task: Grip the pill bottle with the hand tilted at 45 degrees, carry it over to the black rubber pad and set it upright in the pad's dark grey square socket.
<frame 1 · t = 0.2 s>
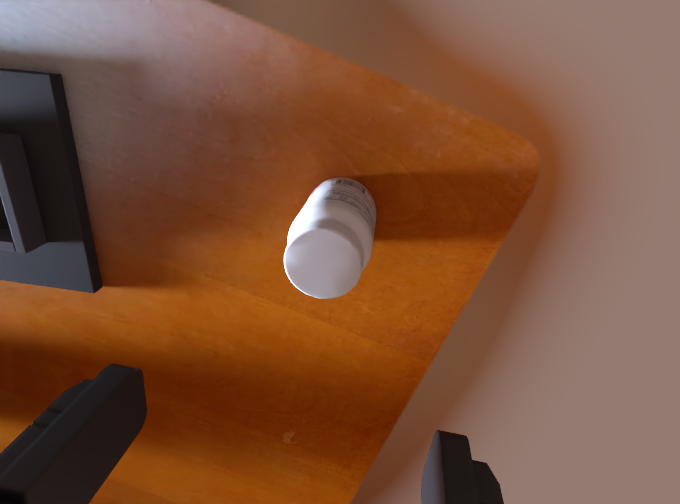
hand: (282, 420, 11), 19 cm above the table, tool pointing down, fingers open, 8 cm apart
pill bottle: (342, 209, 28), on the table
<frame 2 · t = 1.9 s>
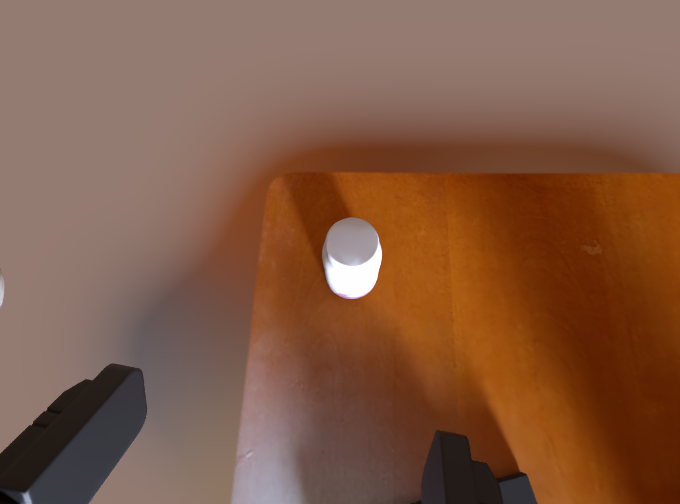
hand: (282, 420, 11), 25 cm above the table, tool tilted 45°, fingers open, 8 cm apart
pill bottle: (351, 275, 38), on the table
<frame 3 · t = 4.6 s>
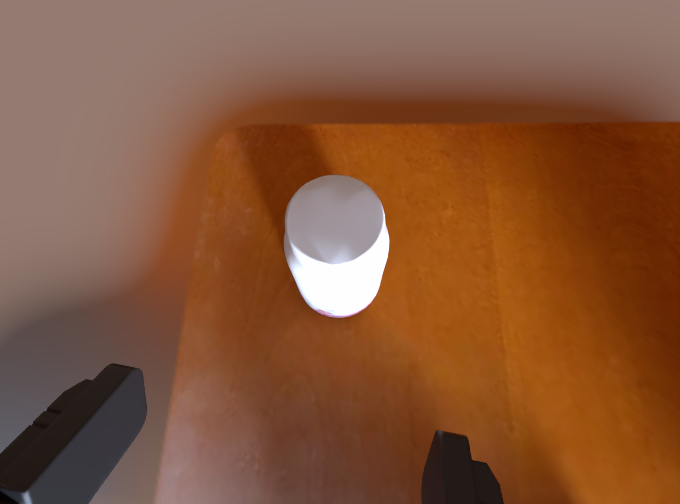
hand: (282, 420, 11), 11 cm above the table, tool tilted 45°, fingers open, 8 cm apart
pill bottle: (339, 279, 24), on the table
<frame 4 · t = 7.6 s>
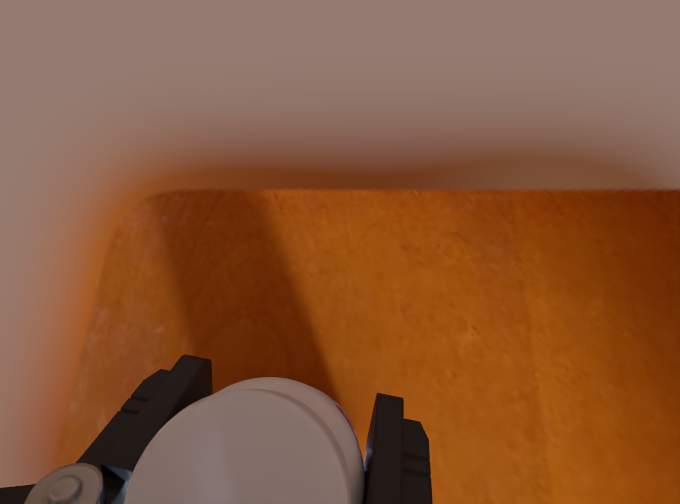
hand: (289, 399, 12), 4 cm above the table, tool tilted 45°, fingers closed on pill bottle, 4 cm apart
pill bottle: (294, 451, 15), on the table, touching gripper
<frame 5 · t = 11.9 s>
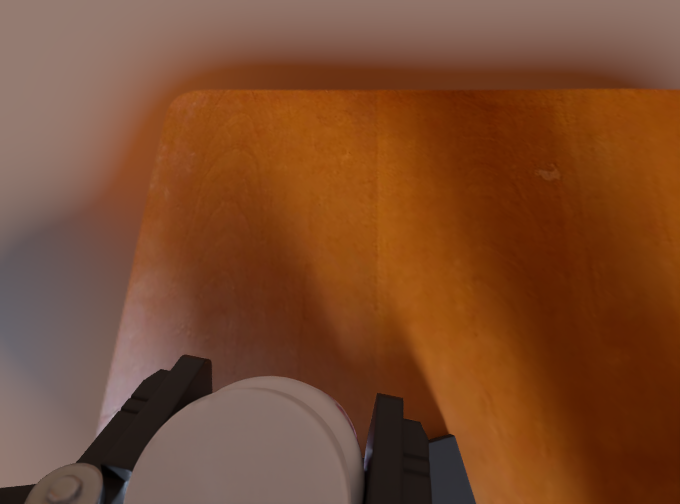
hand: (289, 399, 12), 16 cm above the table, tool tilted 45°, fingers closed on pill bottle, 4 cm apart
pill bottle: (294, 451, 15), point 12 cm above the table, touching gripper
when the fingers open (5 cm above the table, at t = 16.6 s): pill bottle stays where it is, resting on pad.
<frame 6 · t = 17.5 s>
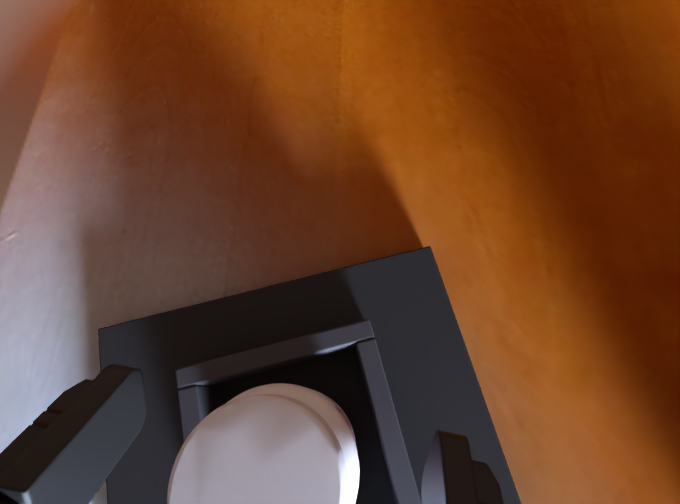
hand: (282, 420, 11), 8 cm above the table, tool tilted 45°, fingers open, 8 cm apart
pill bottle: (299, 447, 17), point 1 cm above the table, touching pad
pad: (302, 441, 18), on the table
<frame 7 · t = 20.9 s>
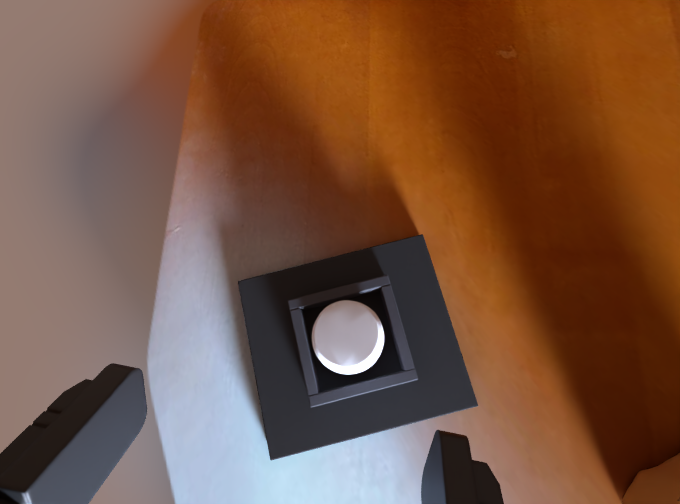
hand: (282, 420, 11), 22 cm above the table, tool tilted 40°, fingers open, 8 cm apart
pill bottle: (350, 342, 33), point 1 cm above the table, touching pad
pad: (351, 340, 33), on the table
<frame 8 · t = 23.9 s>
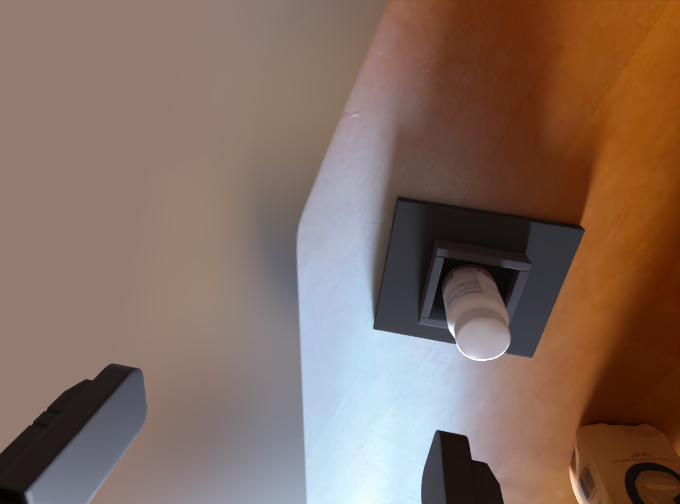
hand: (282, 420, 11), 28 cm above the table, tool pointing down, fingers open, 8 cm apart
pill bottle: (467, 284, 39), point 1 cm above the table, touching pad
coffee package: (612, 456, 46), on the table
pad: (467, 279, 39), on the table
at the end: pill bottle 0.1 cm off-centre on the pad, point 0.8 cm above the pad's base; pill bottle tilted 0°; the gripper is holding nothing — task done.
